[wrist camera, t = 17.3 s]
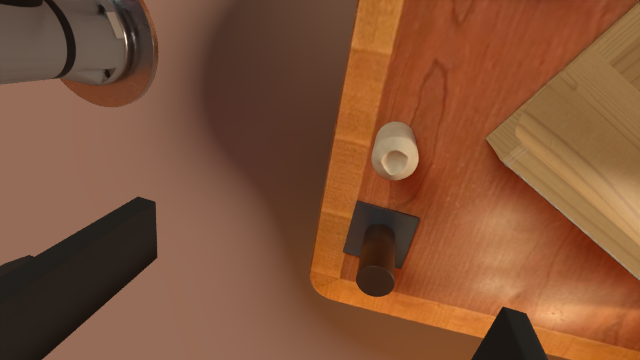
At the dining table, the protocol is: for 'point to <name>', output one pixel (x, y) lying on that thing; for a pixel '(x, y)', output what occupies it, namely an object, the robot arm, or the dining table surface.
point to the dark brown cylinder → (377, 261)
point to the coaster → (374, 214)
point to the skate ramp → (587, 141)
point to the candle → (395, 151)
